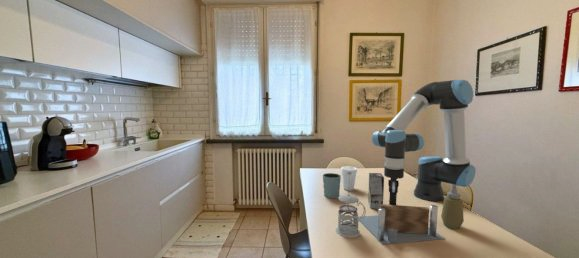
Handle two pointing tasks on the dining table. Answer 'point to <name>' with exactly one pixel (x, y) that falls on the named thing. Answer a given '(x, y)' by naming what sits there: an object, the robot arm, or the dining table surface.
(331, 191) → the grey-green cup
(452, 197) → the squeeze bottle
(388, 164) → the robot arm
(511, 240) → the dining table surface
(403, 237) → the mat
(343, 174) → the foam cup
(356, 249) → the dining table surface
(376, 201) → the coffee box
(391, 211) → the wooden plank
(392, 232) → the posts
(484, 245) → the dining table surface
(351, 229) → the french press
